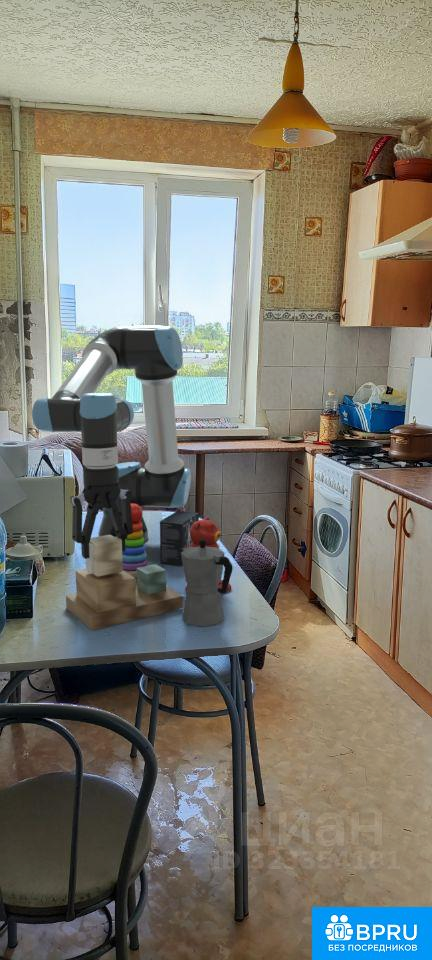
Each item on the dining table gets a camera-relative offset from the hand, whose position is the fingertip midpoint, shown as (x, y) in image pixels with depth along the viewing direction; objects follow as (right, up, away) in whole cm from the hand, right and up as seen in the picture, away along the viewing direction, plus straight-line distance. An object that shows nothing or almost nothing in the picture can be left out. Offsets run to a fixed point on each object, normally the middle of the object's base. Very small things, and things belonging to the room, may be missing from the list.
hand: (104, 568), depth 153 cm
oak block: (0, 0, 0) cm, 0 cm away
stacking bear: (+22, -8, +15) cm, 28 cm away
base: (+4, -9, +4) cm, 11 cm away
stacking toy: (+3, -5, +27) cm, 28 cm away
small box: (+15, -2, +41) cm, 43 cm away
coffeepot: (+23, -11, -2) cm, 25 cm away
